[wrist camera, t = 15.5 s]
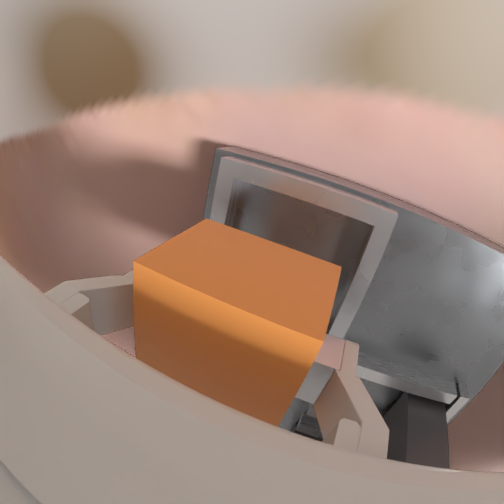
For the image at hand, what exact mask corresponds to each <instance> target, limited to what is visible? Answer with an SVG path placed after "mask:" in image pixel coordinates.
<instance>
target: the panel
mask: <svg viewBox="0 0 504 504" xmlns="http://www.w3.org/2000/svg"><path fill="white" fill-rule="evenodd" d="M205 219H210V220H212V221H215V222H218V223H221V224H224V225H227V226H230V227H232V228H235V229H238V230H241V231H244V232H247V233H249V234H252V235H255V236H258V237H261V238H263V239H266V240H269V241H272V242H275V243H277V244H280V245H283V246H286V247H289V248H291V249H294V250H297V251H300V252H302V253H305V254H308V255H311V256H313V257H316V258H319V259H322V260H324V261H327V262H330V263H333V264H335V265H338V266H341V267H342V268H341V273H340V278H339V282H338V286H337V291H336V295H335V299H334V304H333V308H332V312H331V316H330V320H329V324H328V327H327V331H326V333H327V334H330V335H333V336H335V337H338V338H341V339H344V340H349V341H352V342H355V343H358V344H359V354H358V362H357V370H356V377H359V378H360V379H361V381H362V383H363V384H364V386H365V388H366V390H367V391H368V393H369V395H370V397H371V398H372V400H373V402H374V404H375V405H376V407H377V409H378V411H379V412H380V414H381V416H382V418H383V420H384V415H385V414H386V413H387V412H388V411H389V410H390V409H391V407H392V406H393V405H394V404H395V403H396V402H397V400H398V399H399V398H400V397H401V396H402V395H403V393H404V392H407V393H411V394H414V395H418V396H421V397H425V398H429V399H432V400H436V401H440V402H443V403H445V408H446V418H447V425H448V424H449V423H450V422H451V421H452V420H453V419H454V418H455V417H456V416H457V415H458V414H459V413H460V412H461V411H462V410H463V409H464V408H465V407H466V406H467V405H468V404H469V403H470V402H471V401H472V400H473V398H474V397H475V396H476V395H477V394H478V393H479V392H480V391H481V389H482V388H483V387H484V386H485V385H486V384H487V382H488V381H489V380H490V379H491V378H492V376H493V375H494V374H495V373H496V371H497V370H498V369H499V368H500V366H501V365H502V364H503V362H504V248H503V247H501V246H499V245H497V244H495V243H493V242H491V241H489V240H487V239H485V238H483V237H481V236H479V235H477V234H475V233H473V232H471V231H469V230H467V229H465V228H463V227H461V226H459V225H457V224H454V223H452V222H450V221H448V220H446V219H443V218H441V217H439V216H437V215H434V214H432V213H430V212H428V211H425V210H423V209H421V208H418V207H416V206H413V205H411V204H409V203H406V202H404V201H401V200H399V199H396V198H394V197H391V196H389V195H386V194H383V193H381V192H378V191H375V190H373V189H370V188H367V187H365V186H362V185H359V184H356V183H353V182H351V181H348V180H345V179H342V178H339V177H336V176H333V175H330V174H327V173H324V172H321V171H318V170H315V169H312V168H308V167H305V166H302V165H299V164H295V163H292V162H289V161H285V160H282V159H278V158H275V157H271V156H268V155H264V154H260V153H257V152H253V151H249V150H245V149H241V148H237V147H233V146H230V147H222V148H216V150H215V155H214V160H213V166H212V171H211V176H210V182H209V188H208V193H207V199H206V205H205V211H204V217H203V220H205ZM313 405H314V404H312V403H309V402H306V401H304V400H301V399H299V398H296V397H294V399H293V401H292V403H291V405H290V406H289V408H288V410H287V411H286V413H285V415H284V417H283V418H282V420H281V422H280V423H279V425H278V427H280V428H282V429H285V430H288V431H291V432H292V430H293V429H294V428H295V426H296V425H297V424H298V425H297V428H296V431H299V432H302V433H305V434H308V435H311V436H314V437H317V438H320V439H323V436H322V433H321V429H320V426H319V423H318V419H317V416H316V413H315V409H314V406H313Z"/></svg>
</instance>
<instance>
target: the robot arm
mask: <svg viewBox="0 0 504 504" xmlns="http://www.w3.org/2000/svg"><path fill="white" fill-rule="evenodd" d="M131 326H134V309H133V270H131V271H130V272H128V273H127V274H125V275H123V276H121V275H113V276H104V277H95V278H87V279H78V280H69V281H64V282H62V283H60V284H59V285H57V286H55V287H54V288H52V289H50V290H49V291H47V292H45V293H43V292H42V291H41V290H39V289H38V288H37V287H36V286H35V285H33V284H32V283H31V282H30V281H29V280H28V279H26V278H25V277H24V276H23V275H22V274H21V273H20V272H18V271H17V270H16V269H15V268H14V267H13V266H12V265H11V264H10V263H9V262H8V261H6V260H5V259H4V258H3V257H2V256H1V255H0V504H504V472H482V471H467V470H455V469H446V468H438V467H430V466H423V465H417V464H411V463H405V462H400V461H395V460H390V459H387V452H388V441H389V428H388V427H387V425H386V423H385V421H384V420H383V418H382V416H381V414H380V412H379V411H378V409H377V407H376V405H375V404H374V402H373V400H372V398H371V397H370V395H369V393H368V391H367V390H366V388H365V386H364V384H363V383H362V381H361V379H360V378H359V377H356V370H357V362H358V354H359V344H358V343H355V342H352V341H349V340H344V339H341V338H338V337H335V336H333V335H330V334H327V333H326V335H325V339H324V342H323V344H322V346H321V348H320V350H319V352H318V354H317V356H316V358H315V360H314V362H313V364H312V366H311V368H310V370H309V372H308V374H307V375H306V377H305V379H304V381H303V383H302V385H301V387H300V388H299V390H298V392H297V394H296V396H295V397H296V398H299V399H301V400H304V401H306V402H309V403H312V404H314V405H313V406H314V409H315V413H316V416H317V419H318V423H319V426H320V429H321V433H322V436H323V441H322V442H321V441H317V440H314V439H311V438H308V437H305V436H302V435H299V434H296V433H293V432H291V431H288V430H285V429H282V428H280V427H277V426H274V425H272V424H269V423H267V422H264V421H262V420H259V419H257V418H254V417H252V416H249V415H247V414H245V413H242V412H240V411H238V410H235V409H233V408H231V407H229V406H227V405H224V404H222V403H220V402H218V401H216V400H214V399H211V398H209V397H207V396H205V395H203V394H201V393H199V392H197V391H195V390H193V389H191V388H189V387H187V386H185V385H183V384H182V383H180V382H178V381H176V380H174V379H172V378H170V377H168V376H167V375H165V374H163V373H161V372H159V371H158V370H156V369H154V368H152V367H151V366H149V365H147V364H145V363H144V362H142V361H140V360H139V359H137V358H135V357H134V356H132V355H131V354H129V353H127V352H126V351H124V350H122V349H121V348H119V347H118V346H116V345H115V344H113V343H112V342H110V341H109V340H107V339H106V338H104V337H103V336H101V335H104V334H108V333H111V332H114V331H118V330H121V329H124V328H128V327H131Z"/></svg>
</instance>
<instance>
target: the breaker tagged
mask: <svg viewBox="0 0 504 504" xmlns="http://www.w3.org/2000/svg"><path fill="white" fill-rule="evenodd" d="M384 421H385V423H386V425H387V427H388V428H389V441H388V452H387V459H390V460H395V461H400V462H405V463H411V464H417V465H423V466H430V467H438V468H446V469H449V444H448V429H447V418H446V408H445V403H443V402H440V401H436V400H432V399H429V398H425V397H421V396H418V395H414V394H411V393H407V392H404V393H403V395H402V396H401V397H400V398H399V399H398V400H397V402H396V403H395V404H394V405H393V406H392V407H391V409H390V410H389V411H388V412H387V413H386V414H385V415H384Z"/></svg>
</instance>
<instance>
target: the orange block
mask: <svg viewBox="0 0 504 504" xmlns="http://www.w3.org/2000/svg"><path fill="white" fill-rule="evenodd" d="M341 268H342V267H341V266H338V265H335V264H333V263H330V262H327V261H324V260H322V259H319V258H316V257H313V256H311V255H308V254H305V253H302V252H300V251H297V250H294V249H291V248H289V247H286V246H283V245H280V244H277V243H275V242H272V241H269V240H266V239H263V238H261V237H258V236H255V235H252V234H249V233H247V232H244V231H241V230H238V229H235V228H232V227H230V226H227V225H224V224H221V223H218V222H215V221H212V220H210V219H205V220H203V221H201V222H199V223H198V224H196V225H194V226H192V227H191V228H189V229H187V230H185V231H184V232H182V233H180V234H178V235H177V236H175V237H173V238H171V239H170V240H168V241H166V242H165V243H163V244H161V245H159V246H158V247H156V248H154V249H153V250H151V251H149V252H148V253H146V254H144V255H143V256H141V257H139V258H138V259H136V260H134V261H133V309H134V335H135V351H136V358H137V359H139V360H140V361H142V362H144V363H145V364H147V365H149V366H151V367H152V368H154V369H156V370H158V371H159V372H161V373H163V374H165V375H167V376H168V377H170V378H172V379H174V380H176V381H178V382H180V383H182V384H183V385H185V386H187V387H189V388H191V389H193V390H195V391H197V392H199V393H201V394H203V395H205V396H207V397H209V398H211V399H214V400H216V401H218V402H220V403H222V404H224V405H227V406H229V407H231V408H233V409H235V410H238V411H240V412H242V413H245V414H247V415H249V416H252V417H254V418H257V419H259V420H262V421H264V422H267V423H269V424H272V425H274V426H277V427H278V425H279V423H280V422H281V420H282V418H283V417H284V415H285V413H286V411H287V410H288V408H289V406H290V405H291V403H292V401H293V399H294V397H295V396H296V394H297V392H298V390H299V388H300V387H301V385H302V383H303V381H304V379H305V377H306V375H307V374H308V372H309V370H310V368H311V366H312V364H313V362H314V360H315V358H316V356H317V354H318V352H319V350H320V348H321V346H322V344H323V342H324V339H325V335H326V331H327V327H328V324H329V320H330V316H331V312H332V308H333V304H334V299H335V295H336V291H337V286H338V282H339V278H340V273H341Z"/></svg>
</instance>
